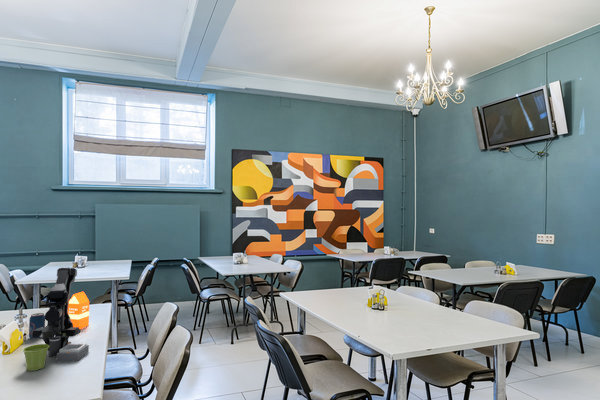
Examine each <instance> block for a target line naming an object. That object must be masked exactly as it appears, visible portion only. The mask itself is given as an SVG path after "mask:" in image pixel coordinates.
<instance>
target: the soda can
mask: <svg viewBox="0 0 600 400" xmlns="http://www.w3.org/2000/svg"><path fill="white" fill-rule="evenodd" d="M28 320H29V325H28V337H29V339H31V340H39V337H40V336H39V337H32V332H33V331H34V330H36V329H38V328H45V327H46V319H45V313H43V312H38V313H33V314H31V315H30V317H29V319H28Z"/></svg>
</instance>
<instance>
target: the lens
mask: <svg viewBox="0 0 600 400" xmlns="http://www.w3.org/2000/svg"><path fill="white" fill-rule="evenodd" d="M60 337H62V336H54V337H52V338H50V343H49V351H48V357H49V358H56V355H57V353H59V350H60V349H61V338H60Z"/></svg>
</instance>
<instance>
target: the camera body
mask: <svg viewBox="0 0 600 400" xmlns="http://www.w3.org/2000/svg"><path fill="white" fill-rule="evenodd" d="M89 346H90V345H88V344H87V343H70V344H67V345H66V346H64V347H63V348H62V349H60V350H59V353H57V355H56V357H55V358H56V359H55V360H56V363H62V362H63V363H66V362H69V363H70V362H71V363H72V362H79V361H80V360H81V359H83V358H84V357H85V356H86V355H87V354H88V353H89V349H90V347H89Z"/></svg>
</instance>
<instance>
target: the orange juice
mask: <svg viewBox="0 0 600 400" xmlns="http://www.w3.org/2000/svg"><path fill="white" fill-rule="evenodd" d="M68 315H69V316H70V318H71V321H72V323H73V327H79V328H80V330H82V329H84V327H85V328H87V327H88V326H89V325H90V324H89V323H90V321H89V320H90V300H89V298H88V296H87V295H86V293H85V292H84V291H81V292H77V293H74V294H72V296H71V297H70V298H69V307H68ZM86 326H87V327H86Z"/></svg>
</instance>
